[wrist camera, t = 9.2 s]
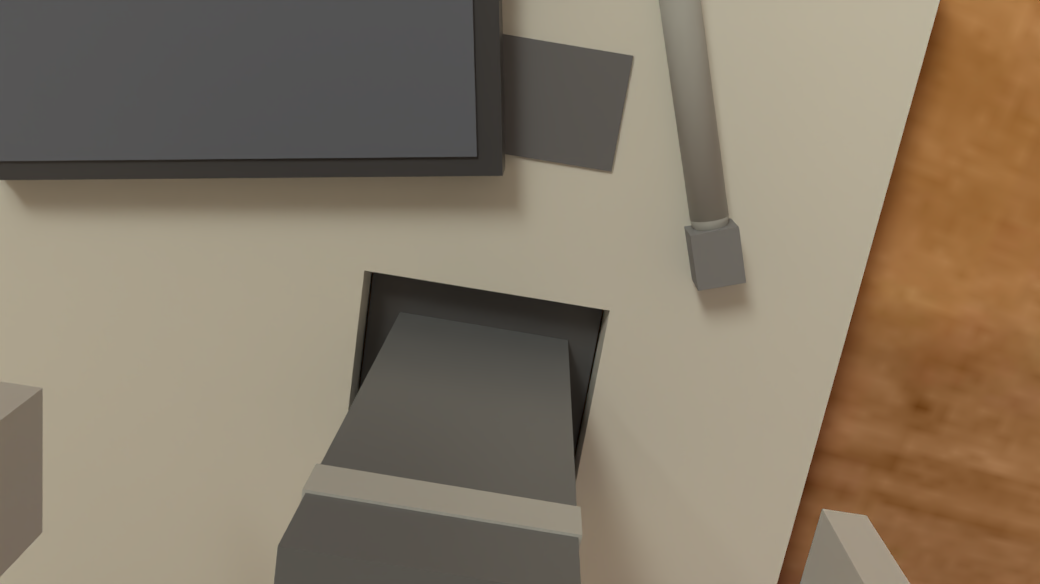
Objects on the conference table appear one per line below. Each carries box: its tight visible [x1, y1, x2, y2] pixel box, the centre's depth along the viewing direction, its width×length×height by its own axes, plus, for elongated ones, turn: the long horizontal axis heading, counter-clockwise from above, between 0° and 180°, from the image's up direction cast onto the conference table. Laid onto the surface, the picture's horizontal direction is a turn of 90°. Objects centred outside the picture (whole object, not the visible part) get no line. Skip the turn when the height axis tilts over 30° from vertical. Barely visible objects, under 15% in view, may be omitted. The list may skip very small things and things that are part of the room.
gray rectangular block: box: [274, 312, 582, 584], centre depth 17 cm, size 4×4×10 cm
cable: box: [659, 0, 746, 291], centre depth 18 cm, size 11×1×1 cm, turn 11°
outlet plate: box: [0, 0, 940, 584], centre depth 21 cm, size 18×20×1 cm
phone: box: [0, 0, 505, 180], centre depth 18 cm, size 6×11×1 cm, turn 91°
